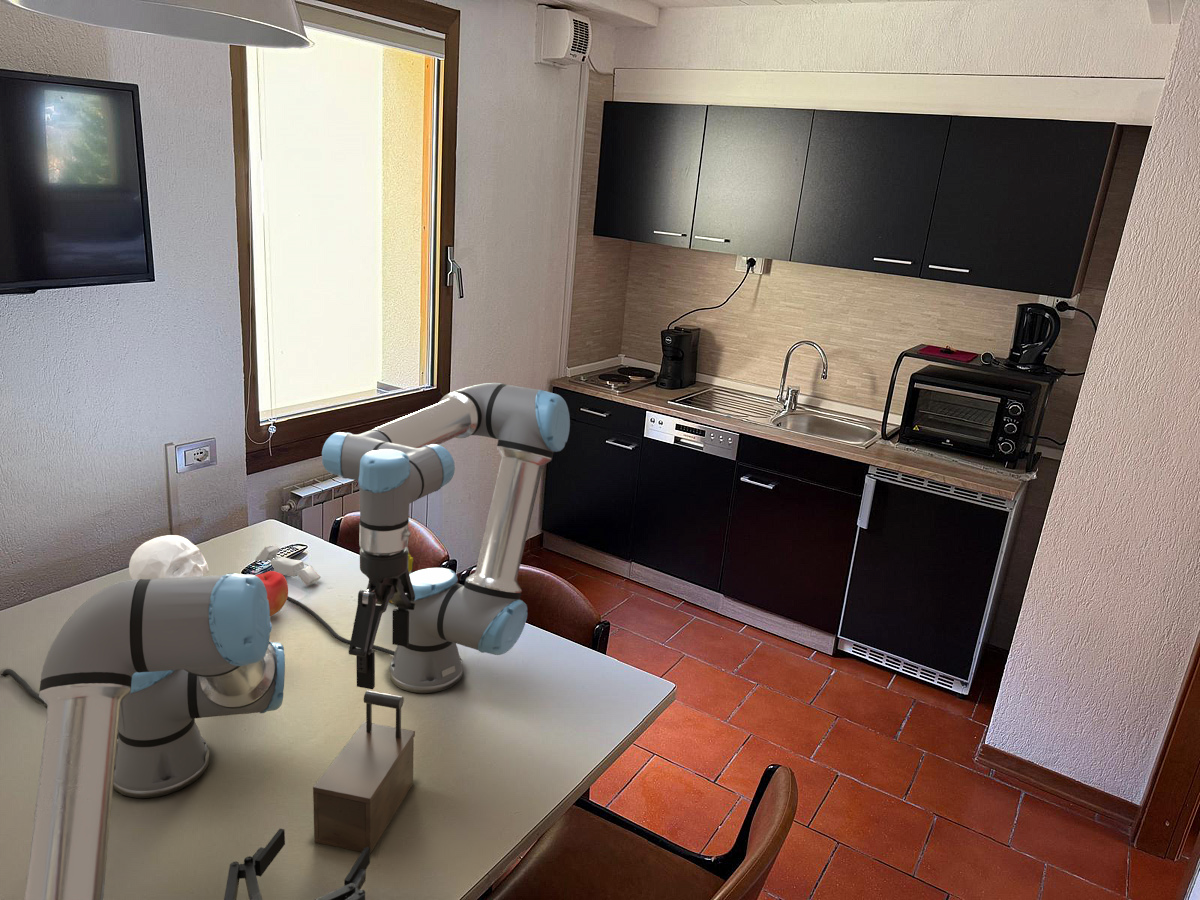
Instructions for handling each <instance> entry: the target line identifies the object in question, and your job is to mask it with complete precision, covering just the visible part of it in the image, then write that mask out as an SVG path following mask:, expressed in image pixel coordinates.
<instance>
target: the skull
mask: <svg viewBox="0 0 1200 900" xmlns="http://www.w3.org/2000/svg"><path fill="white" fill-rule="evenodd" d="M208 573H209V565H208V563H207V561H206V559H205V556H204V554H203V553H202V552H201V549H199V547H197V546H196V545H195V544H194V543H193V542H192V541H190V540H189V539H187V538H186V537H184V536H181V535H177V534H174V535H173V534H167V535H161V536H157V537H154V538H152V539H149V540H147V541H145V542H143V543H142V544H141V545H140V546H138V547H137V548H136V549H135V550H134V552H133V553H132V555H131V556H130V559H129V564H128V574H129V577H130V580H132V579H158V578H177V577H195V576H205V574H208Z"/></svg>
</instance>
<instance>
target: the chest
mask: <svg viewBox="0 0 1200 900" xmlns="http://www.w3.org/2000/svg"><path fill="white" fill-rule="evenodd" d="M414 741H415V737H414V738H413V740H412V741H411V743H410V744H409V746H408V747H407V749H406V750H405V752H404V753H403V755H402V756H401V758H400V759H399V761H398V762H397V764H396V765H395V767H394V768H393V770H392V771H391V773H390V774H389V776H388V778H387V779H386V781H385V782H384V784H383V785H382V787H381V788H380V790H379V791H378V793H377V794H376V796H375V797H374V799H373V800H372V802H371V803H370V804H369V803H364V802H359V801H354V800H349V799H344V798H340V797H335V796H330V795H325V794H320V793H315V792H313V791H312V801H313V803H312V804H313V805H312V806H313V837H314V838H313V839H314V841H313V842H314V843H318V844H323V845H327V846H332V847H337V848H342V849H346V850H351V851H356V852H360V853H362V851H363V849H364V848H365V847H368V848H370V854H372V852H373V850H374V848H375V847H376V845H377V844H378V842H379V841H380V839H381V837H382V836H383V834H384V832H385V830H386V829H387V828H388V825H389V824H390V823H391V821H392V819H393V817H394V816H395V814H396V813H397V811H398V809H399V808H400V806H401V804H402V803H403V801H404V799H405V797H406V796H407V794H408V792H409V791H410V789H411V788H412V786H413V785H414V746H415V744H414V743H415V742H414Z"/></svg>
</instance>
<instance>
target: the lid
mask: <svg viewBox="0 0 1200 900" xmlns="http://www.w3.org/2000/svg"><path fill="white" fill-rule="evenodd" d="M363 703H364V704H365V706H366V707H365V709H366V710H365V711H366V712H365V715H366V717H365V718H366V719H365V720H366V721H363V722H362V723H361V724H360V726H359V727H358V728H357V729H356V731H355V732H354V733H353V735H352V736H351V738H350V739H349V740H348V741H347V742H346V744H344V746H343V748H342V749H341V750H340V751H339V753H338V754H337V756H336V757H335V758H334V759H333V761H332V762H331V763H330V765H328V767H327V768H326V770H325V771H324V772H323V773H322V775H321V776H320V777H319V778H318V779H317V781H316V782H315V784H314V785H313V786H312V793H313V792H315V793H320V794H325V795H330V796H335V797H340V798H344V799H349V800H354V801H359V802H364V803H369V804H370V803H371V802H372V800H373V799H374V797H375V796H376V794H377V793H378V791H379V790H380V788H381V787H382V785H383V784H384V782H385V781H386V779H387V778H388V776H389V774H390V773H391V771H392V770H393V768H394V767H395V765H396V764H397V762H398V761H399V759H400V758H401V756H402V755H403V753H404V752H405V750H406V749H407V747H408V746H409V744H410V743H411V741H412V740H413V738H414V739H415V736H416V731H415V730H411V729H405V728H402V709H403V706H404V703H405V698H404V696H402V695H397V694H391V693H386V692H379V691H375V690H371V689H367V690H366V691H365V692H364V695H363ZM373 706H378V707H379V706H380V707H384V708H390V709H395V726H390V725H385V724H379V723H374V722H373V721H372V720H373V709H372V708H373Z"/></svg>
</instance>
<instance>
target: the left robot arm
mask: <svg viewBox="0 0 1200 900" xmlns="http://www.w3.org/2000/svg"><path fill="white" fill-rule="evenodd" d="M255 575H256V574H255ZM255 575H254V574H245V573H244V574H242V573H237V572H230V573H226V574H216V575H215V574H213V575H203V576H195V577H177V578H158V579H132V580H131V579H126V580H122V581H118V582H114V583H113V584H110V585H107V586H106V587H104V588H102V589H101V590H99V591H98V592H96V593H94V594H93V595H91V596H90V597H89V598H88V599H86V600H85V601H84V602H83V603H82V604H81V605H80V606H79V607H78V608H77V609H75V610H74V612H73V613H72V614H71V616H69V618H68V619H67V620H66V622H65V623H64V624H63V625H62V627H61V628H60V630H59V632H58V633H57V635H56V637H55V639H54V640H53V641H52V644H51V646H50V648H49V650H48V653H47V655H46V658H45V659H44V663H43V666H42V670H41V675H40V681H39V682H40V683H39V684H40V685H39V690H38V692H36V691H35V690H34V689H33V688H32V687H31V686H30V685H29V684H28V682H27V681H26V680H25V679H23V678H22V677H21V676H20V675H19V674H18V673H17V672H16V671H14V670H13V669H12V668H7V669H4V670H3V671H2V673H1V675H2V676H7V675H9V676H10V677H12V679H14V680H15V681H16V682H17V683H18V684H19V685H21V687H22V688H23V689H24V690H25V692H26V693H27V694H28V695H29V696H30V697H31V698H33V699H35V700H36V701H38V702H40V703H41V704H44V705H46V706H47V709H46V716H45V726H44V734H43V742H42V749H41V758H40V765H39V766H40V767H39V776H38V783H37V792H36V801H35V809H34V817H33V824H32V835H31V843H30V851H29V859H28V866H27V875H26V884H25V893H24V900H104V895H105V885H106V873H107V861H108V849H109V839H110V826H111V818H112V817H111V814H112V803H113V794H114V790H115V791H116V792H117V793H119V794H121V795H122V796H125V797H129V798H137V799H138V798H139V799H149V798H150V799H151V798H157V797H161V796H162V797H163V796H166V795H171V794H172V793H175V792H178V791H180V790H182V789H184V788H186V787H188V786H189V785H191V784H193V783H194V782H195V781H196V780H198V779H199V778H201V776H202V775H203V774H204V773H205V771H206V770H207V768H208V766H209V763H210V747H208V743H207V742H206V740H205V738H204V737H202V735H201V732H200V729H199V726H198V725H197V723H196V719H202V718H203V719H204V718H213V717H214V718H215V717H224V716H236V715H247V714H257V713H258V714H265V713H267V712H273V711H277V710H278V709H280V707H281V706H282V705H283V701H284V690H285V677H286V675H285V674H286V673H285V672H286V658H285V657H286V655H285V648H284V644H282V643H281V642H277V641H276V642H275V641H274V642H273V641H270V637H271V632H270V622H271V616H270V608H269V602H268V600H267V591H266V588H265V586H264V583H263V582H262V580H261V579H260V578H258V577H257V576H255ZM285 831H286V830H285V828H279V829H278V830H277V831H276V833H274V835H273V837H272V838H271V839H270V840H269V841H268V842H267V844H266V845H265V846H264V847H263V846H261V847H259V848H258V849H257V850H256V851H255V852H254V854H253V855H252V856H251V855H249V856H246V857H245V858H244V859H243V863H240V862H239V861H232V862H231V863H229V868H228V874H227V879H226V884H225V885H226V886H225V892H224V897H223V900H237V899H238V892H239V887H240V879H244V881H245V886H246V890H247V895H248V900H263V898H262V897H263V896H262V893H261V891H260V886H259V882H258V878H257V877H262V875H264V873H265V872H266V870H267V869H268V867H270V865H271V863H272V862H273V861H274V860H275V858H276V857H277V855H279V853H280V852H281V850H282V849H283V847H285V845H286V835H285V834H286V833H285ZM370 863H371V853H370V848H368V847H365V848H364V849H363V851H362V852H360V854H359V855H358V858H357V859H356V860H355V862H354V864H353V865H352V867H351V869H350V870H349V872H348V873H347V875H346V877H345V878H344V880H343V882H344V883H343V886H342V887H339V888H336V889H335V890H333V891H331V892H328V893H326V894H324V895H321V896H319V897H318V898H315V899H314V900H366V891H365V890H364V889H362V887H363V886H364V884H365V883H366V879H367V868H368V867H369V866H370Z"/></svg>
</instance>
